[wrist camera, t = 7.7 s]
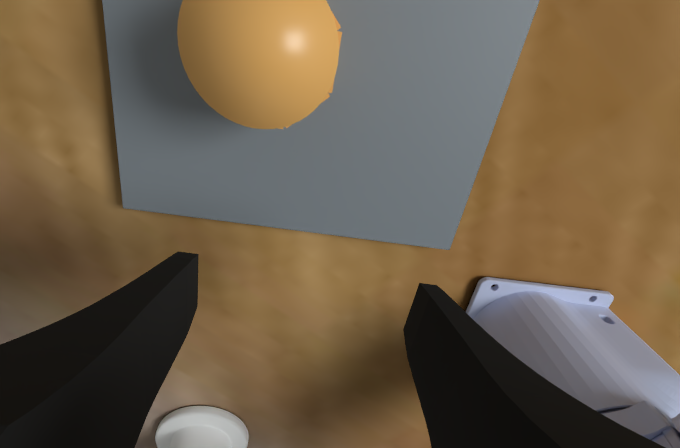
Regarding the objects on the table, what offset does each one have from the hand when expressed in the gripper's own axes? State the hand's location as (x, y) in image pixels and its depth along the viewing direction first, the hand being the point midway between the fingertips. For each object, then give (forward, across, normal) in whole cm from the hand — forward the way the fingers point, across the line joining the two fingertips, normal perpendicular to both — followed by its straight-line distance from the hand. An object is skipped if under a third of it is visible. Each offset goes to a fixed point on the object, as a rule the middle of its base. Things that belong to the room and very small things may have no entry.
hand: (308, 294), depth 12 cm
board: (+9, +1, -6) cm, 11 cm away
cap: (+8, +3, -7) cm, 11 cm away
